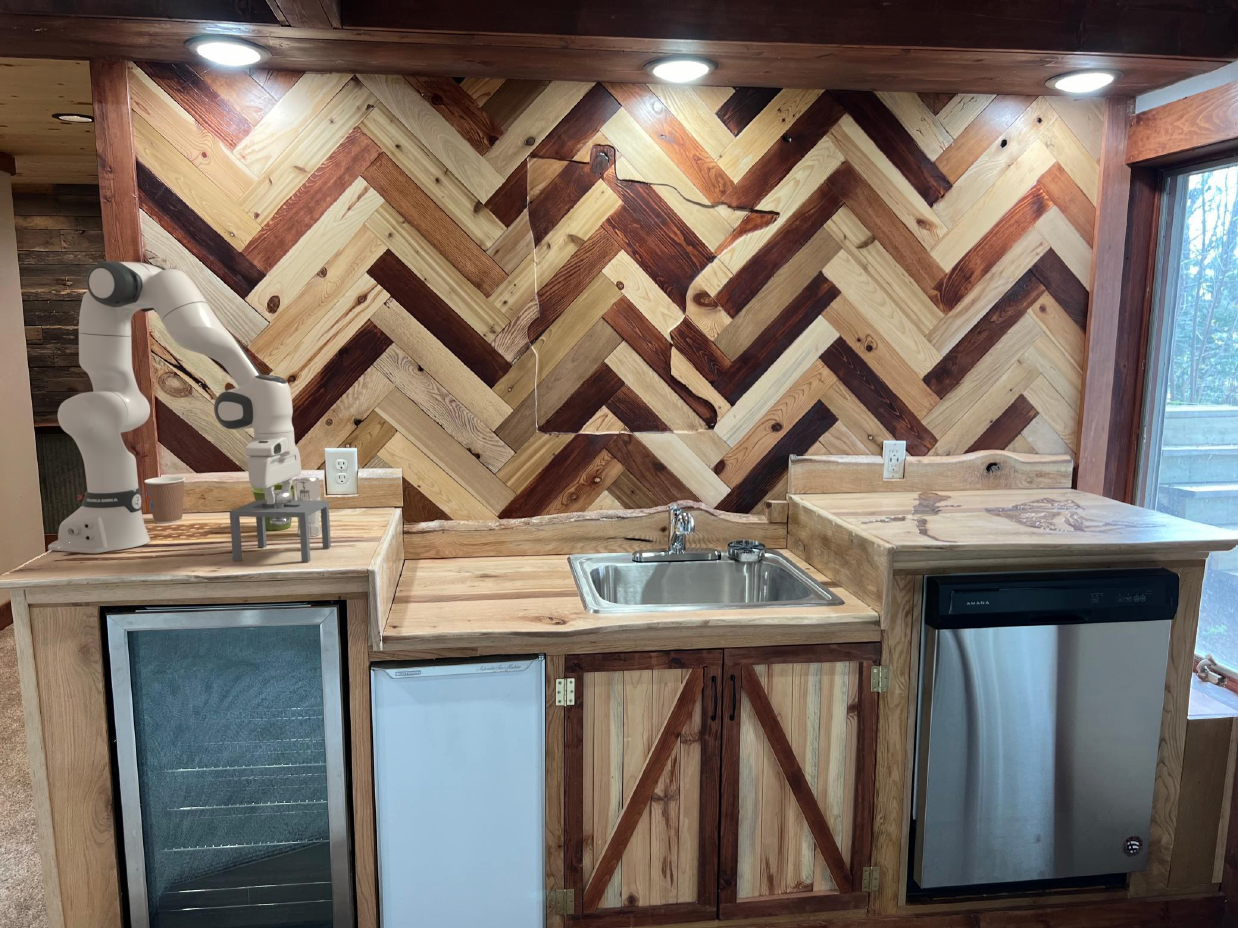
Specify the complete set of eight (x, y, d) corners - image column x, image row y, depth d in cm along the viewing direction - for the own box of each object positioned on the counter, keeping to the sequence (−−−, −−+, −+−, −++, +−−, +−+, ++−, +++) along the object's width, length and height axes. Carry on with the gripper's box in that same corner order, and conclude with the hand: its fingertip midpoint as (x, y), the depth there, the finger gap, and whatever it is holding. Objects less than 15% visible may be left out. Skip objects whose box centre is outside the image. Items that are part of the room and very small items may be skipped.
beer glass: (327, 531, 229) (324, 477, 226) (316, 538, 222) (312, 481, 220) (302, 531, 230) (299, 476, 227) (290, 537, 223) (287, 481, 220)
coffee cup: (157, 517, 246) (153, 476, 245) (194, 516, 248) (190, 476, 246) (141, 525, 236) (137, 483, 234) (179, 524, 237) (176, 482, 236)
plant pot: (245, 532, 228) (242, 491, 226) (268, 522, 240) (265, 483, 238) (286, 533, 227) (283, 492, 225) (307, 523, 238) (305, 484, 237)
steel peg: (262, 525, 202) (260, 494, 201) (273, 520, 208) (271, 489, 207) (286, 525, 202) (284, 494, 200) (297, 520, 208) (295, 489, 206)
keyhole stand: (233, 561, 199) (229, 511, 198) (260, 546, 213) (257, 499, 211) (308, 562, 199) (305, 512, 197) (331, 547, 212) (328, 500, 210)
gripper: (281, 438, 212) (284, 492, 214) (241, 449, 192) (245, 509, 194) (306, 438, 212) (309, 492, 214) (268, 449, 192) (272, 509, 194)
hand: (278, 500), depth 204 cm, fingers closed on steel peg, 6 cm apart
